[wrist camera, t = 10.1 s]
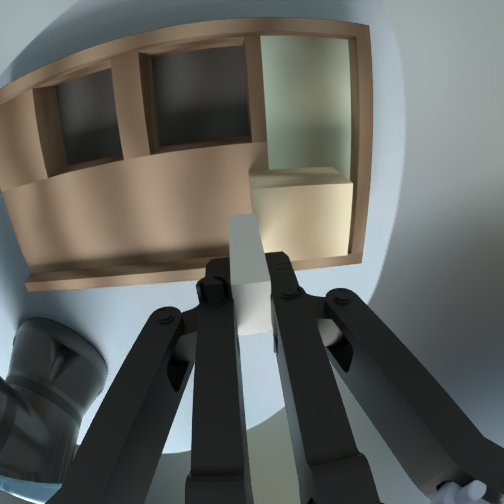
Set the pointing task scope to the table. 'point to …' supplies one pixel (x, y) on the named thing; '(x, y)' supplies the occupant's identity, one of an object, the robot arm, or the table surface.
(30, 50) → the table surface
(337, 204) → the block
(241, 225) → the robot arm
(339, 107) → the track
